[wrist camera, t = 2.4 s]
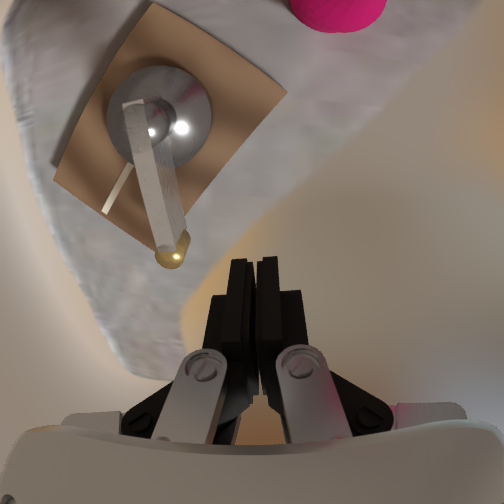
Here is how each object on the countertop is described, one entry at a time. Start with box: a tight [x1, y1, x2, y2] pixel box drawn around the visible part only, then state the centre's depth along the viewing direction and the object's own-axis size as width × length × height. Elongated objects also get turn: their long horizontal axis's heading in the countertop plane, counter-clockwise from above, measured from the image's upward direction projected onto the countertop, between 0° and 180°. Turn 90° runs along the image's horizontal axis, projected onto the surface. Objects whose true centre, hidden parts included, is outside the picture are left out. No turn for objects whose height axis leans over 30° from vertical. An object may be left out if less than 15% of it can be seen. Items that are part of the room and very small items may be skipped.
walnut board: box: [53, 2, 288, 251], centre depth 25 cm, size 20×14×2 cm
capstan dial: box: [107, 66, 213, 269], centre depth 23 cm, size 16×9×5 cm, turn 6°
